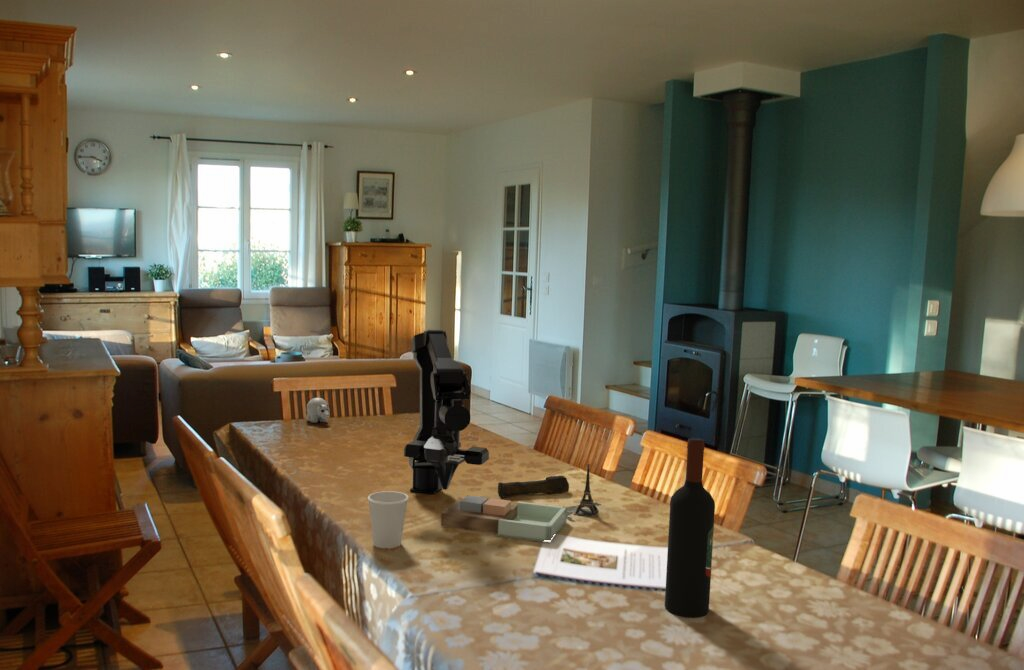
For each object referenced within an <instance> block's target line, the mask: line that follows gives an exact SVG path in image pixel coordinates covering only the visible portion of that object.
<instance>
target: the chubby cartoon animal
mask: <svg viewBox="0 0 1024 670" xmlns="http://www.w3.org/2000/svg"><path fill="white" fill-rule="evenodd" d="M306 413H307V414H306V416H305V417H306V421H310V422H309V423H312V424H316V423H318V422H319V423H326V422H327V421H328V419H329V418H330V417H331V416H330V415H331V414H330V407H329V403H327V401H326V400H325V399H324V398H322V397H314V398H312V399H310V400H309V401H308V403H307V404H306Z"/></svg>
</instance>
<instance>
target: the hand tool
mask: <svg viewBox="0 0 1024 670" xmlns="http://www.w3.org/2000/svg"><path fill="white" fill-rule="evenodd" d="M569 490H570V484H569V482H568V479H567V478H566V477H565V476H564V475H554V476H553V475H550V476H547V477H546V478H545V479H542V480H541V479H540V480H529V481H514V482H501V481H499V482H498V483H497V493H498V496H499V498H501V499H504V497H506V498H510V497H514V496H521V495H522V496H525V495H538V494H547V495H550V496H552V495H553V496H554V495H560V494H565V493H568V492H569Z"/></svg>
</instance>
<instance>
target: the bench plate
mask: <svg viewBox="0 0 1024 670" xmlns="http://www.w3.org/2000/svg"><path fill="white" fill-rule="evenodd" d="M462 499H463V498H459V499H458V500H456V501H455V502H454V503H452V504H451V505H450V506H449V507H447V508H446V509H444V510H443V511H442V512H441V519H440V526H441V527H446V528H453V529H455V528H456V529H461V530H469V531H474V532H475V531H476V532H482V533H484V532H485V533H491V534H497V535H498V522H499V519H505V520H514V519H515V518H516V517H517V504H511V510H510V511H509V512H508V513H507V514H506V515H505V516H503V515H495V514H487V513H483V511H482V512H481V513H479V512H472V511H464V510H460V501H461V500H462Z"/></svg>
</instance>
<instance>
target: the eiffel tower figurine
mask: <svg viewBox="0 0 1024 670" xmlns="http://www.w3.org/2000/svg"><path fill="white" fill-rule="evenodd" d="M586 467H587V468H586V469H587V470H586V479H585V488H584V491H583V495H582V496H583V497H582V498H581V500H580V502H579V503H580V504H579V505H571V506H566V507H567V512H566V520H568V521H571V522H575V520H574V519H573V518H572V517H571V516H570V515H574V516H581V517H592V518H596V517H597V516H598V514H599V511H600V510H599V509H598V508H597V507H599V506H601V505H602V504H601V503H599V502H597V501H596V502H594V499H593V498H592V494H591V492H592V490H591V488H590V487H591V485H590V467H591V465H590V462H589V461H588V463H587V464H586ZM586 497H587V498H586Z"/></svg>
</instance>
